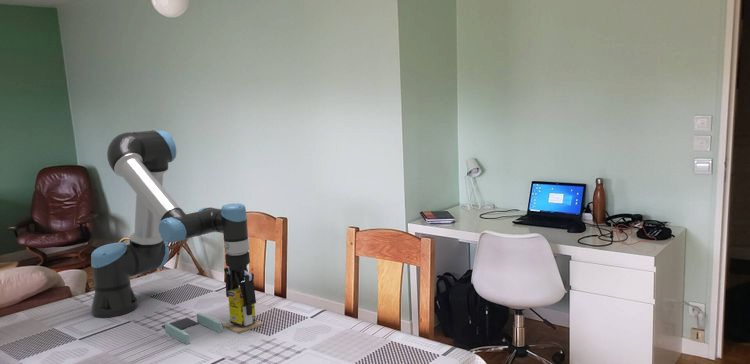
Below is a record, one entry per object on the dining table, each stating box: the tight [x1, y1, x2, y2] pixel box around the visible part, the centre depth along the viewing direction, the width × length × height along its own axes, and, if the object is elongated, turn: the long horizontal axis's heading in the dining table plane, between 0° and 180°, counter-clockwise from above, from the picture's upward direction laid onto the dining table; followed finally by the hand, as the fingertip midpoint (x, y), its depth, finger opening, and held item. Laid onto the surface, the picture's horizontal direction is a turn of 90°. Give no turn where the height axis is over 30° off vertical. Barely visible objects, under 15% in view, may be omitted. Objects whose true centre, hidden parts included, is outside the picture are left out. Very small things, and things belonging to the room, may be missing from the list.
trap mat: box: [160, 317, 200, 331], centre depth 182 cm, size 8×9×1 cm
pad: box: [222, 319, 264, 335], centre depth 179 cm, size 9×9×1 cm
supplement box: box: [227, 286, 257, 327], centre depth 179 cm, size 6×6×11 cm
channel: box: [164, 312, 223, 346], centre depth 176 cm, size 14×12×3 cm
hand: (242, 321), depth 179 cm, fingers closed on supplement box, 6 cm apart
